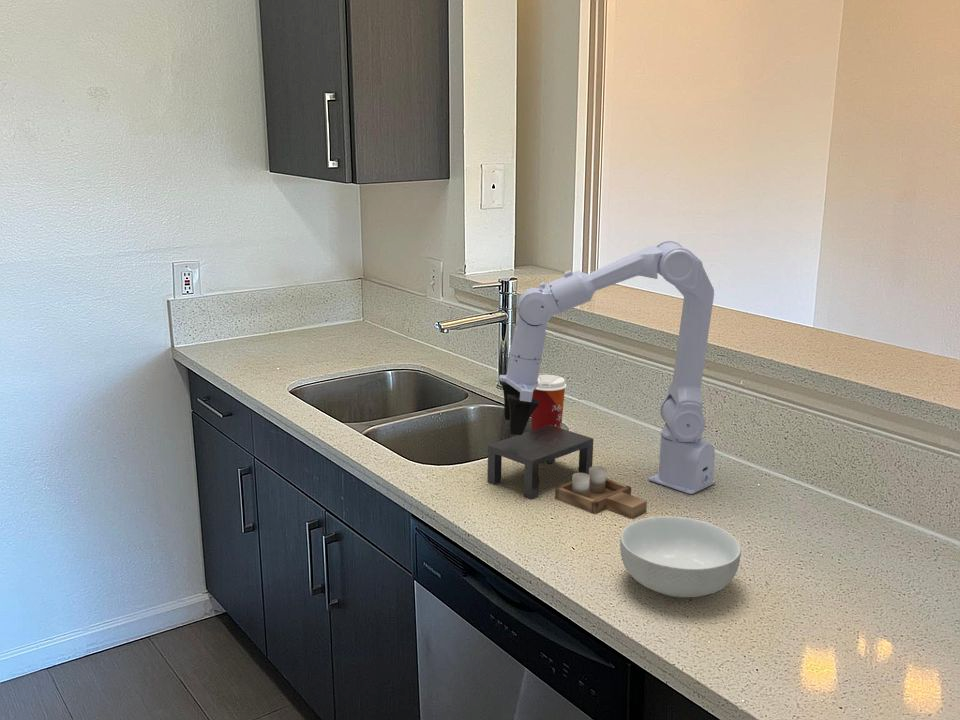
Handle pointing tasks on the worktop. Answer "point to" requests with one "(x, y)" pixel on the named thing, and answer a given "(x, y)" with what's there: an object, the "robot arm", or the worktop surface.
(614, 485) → the tray
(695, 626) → the worktop surface
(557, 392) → the paper cup
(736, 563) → the cereal bowl
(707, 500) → the worktop surface
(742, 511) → the worktop surface
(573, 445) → the riser
